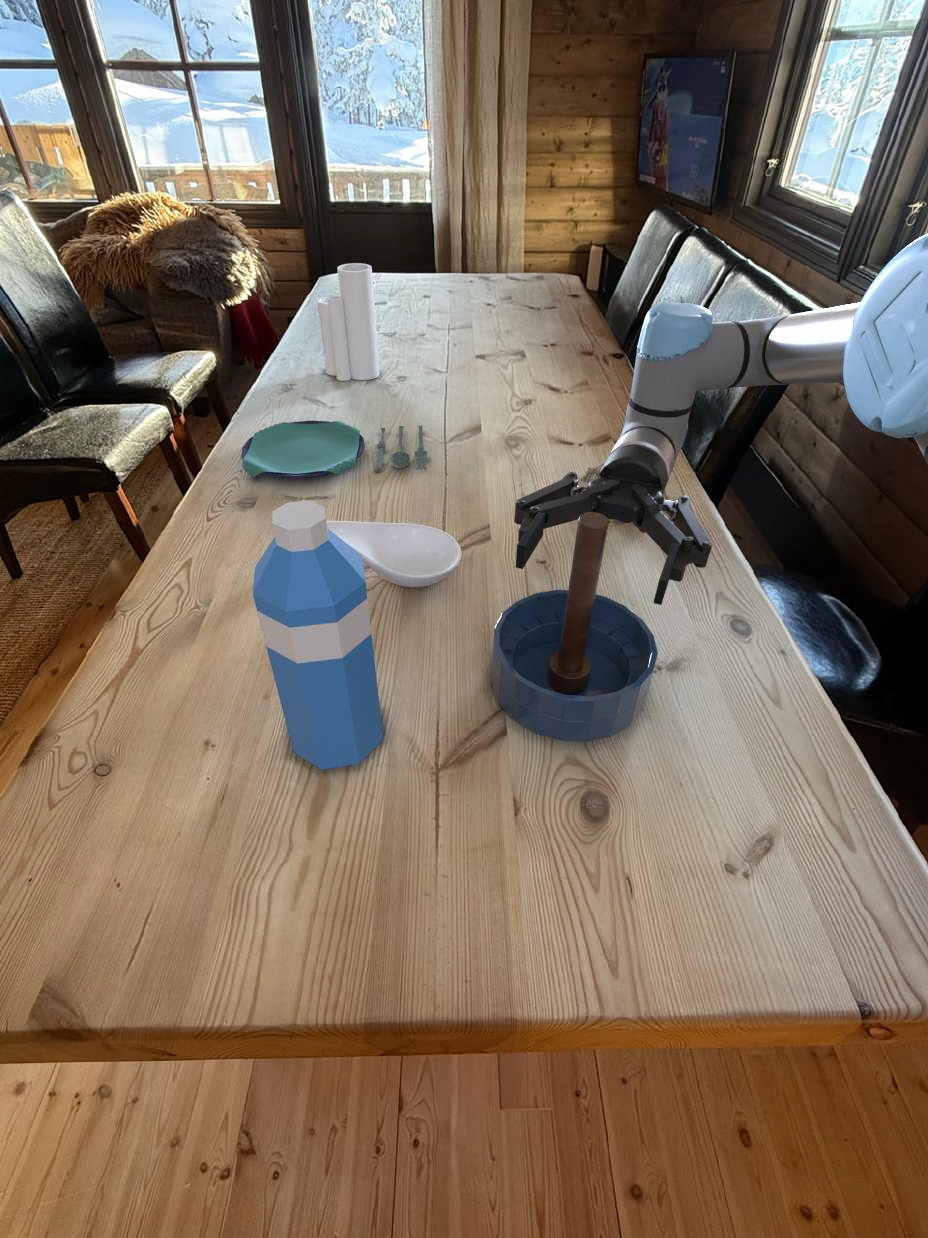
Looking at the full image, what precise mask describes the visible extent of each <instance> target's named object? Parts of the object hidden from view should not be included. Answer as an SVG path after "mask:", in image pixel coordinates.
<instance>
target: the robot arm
mask: <svg viewBox="0 0 928 1238" xmlns="http://www.w3.org/2000/svg"><path fill="white" fill-rule="evenodd" d="M713 320H714V318H713V314H712V312H711V311H710V310H709V309H708V308H706V307H704V306H702V305H699V304H695V303H690V302H677V301H672V302H671V301H670V302H663V303H659V304H656V305H654V306H653V307H652V308H650V309H649V310H648V311H647V312H646V315H645V317H644V320H643V324H642V327H641V331H640V335H639V339H638V342H637V346H636V347H637V348H636V357H635V363H634V368H633V369H634V370H633V377H632V383H631V390H630V394H629V398H628V402H627V407H626V412H625V418H624V423H623V429H622V432H621V434H620V436H619V437H618V440H617V441H616V442H615V445H614V446H613V448H612V450H611V451H610V453H609V455H608V456H607V459H606V460H605V462H604V463H603V464H604V466H603V467H602V469H601V471H600V473H599V475H598V477H597V479H595V480H593V481H591V482H590V483H587V482H583V481H582V480H579V479H578V478H579V474H578V473H577V472H575V471H570V472H567V473H566V474H565V475H564V476H563V477H562V478H561V479H560V480H558V481H556V482H553V483H551V484H549V485H547V486H544V487H542V488H540V489H538V490H535V491H534V492H531V493H528V494H527V495H525V496H523V497H520V498H518V499H516V500H515V502H514V518H513V522H514V524H516V525H519V527H518V534H517V535H518V536H517V542H518V543H517V544H516V555H515V568H516V569H518V570H519V569H520V570H524V568H525V566H526V565H527V564H528V561H529V559H530V558H531V556H532V555H533V553H534V551H535V550H536V548H537V547H538V545H539V543H540V541H541V540H542V538H543V536H544V531H545V530H546V529H549V528H552V527H556V526H561V525H564V524H567V523H571V522H573V521H578V520H579V517H580V515H582V514H584V513H587V512H596V513H600V514H603V515H604V516H606V517H607V518H608V520H615V521H618V522H621V523H623V524H624V523H625V524H628V525H630V524H633V525H634V526H635V527H636V529H638V531H639V532H640V533H641V534H646V535H648V537H649V538H650V539H651V540H652V541H653V542H654V543H655V545H657V546H658V547H659V549H660V550H661V551H662V552H663V553H664V554H665V556H666V558H665V561H664V564H663V567H662V570H661V573H660V576H659V579H658V582H657V587H656V591H655V594H654V598H653V602H652V603H653V604H655V605H660V606H662V604H663V601H664V598H665V595H666V591H667V589H668V585H669V582H670V581H675V582H677V583H680V582H682V581H683V579H684V575H685V572H686V570H687V569H686V568H687V566H688V565H690V564H691V565H694V566H695V567H696V568H698V569H699V568H700V569H704V568H706V566H707V564H708V560H709V557H710V554H711V551H712V548H713V544H712V542H711V540H710V538H709V536H708V535H707V534H706V532H705V530H704V529H703V527H702V525H701V523H700V522H699V520H698V518H697V517H696V515H695V514H694V512H693V510H692V508H691V497H689V496H688V495H679V496H678V499H677V500H671V499H665V497H664V496H663V493H664V494H665V490H666V488H667V484H668V482H669V480H670V477H671V475H672V472H673V469H674V467H675V465H676V461H677V458H678V456H679V454H680V451H681V449H682V448H683V447H684V445H685V442H686V439H687V435H688V431H689V418H690V415H691V411H692V407H693V404H694V400H695V397H696V394H697V392H704V391H715V390H727V389H732V388H745V387H746V388H747V387H760V386H786V385H805V384H806V385H809V384H813V385H814V384H844V388H845V389H844V390H845V395H846V398H847V401H848V404H849V406H850V408H851V410H852V412H853V414H854V415H855V416H856V418H857V419H858V420H859V421H860V422H861V423H862V424H863V425H864V426H865V427H866V428H868V429H870V430H871V431H874V432H878V433H879V432H880V433H883V434H884V435H886V436H889V437H892V438H895V439H902V438H905V439H909V438H913V439H914V440H915V442H916V444H917V446H918V448H919V450H920V452H921V454H922V456H923V458H924V460H925V462H926V464H927V465H928V233H926V234H924V235H922V236H920V237H919V238H916V239H915V240H914V241H913V242H911V243H909V244H908V245H907V246H905V247H904V248H903V249H901V250H900V251H899V252H898V253H897V254H896V255H895V256H893V258H892V259H890V260H889V262H888V263H887V264H885V266H884V267H883V268H882V270H881V271H880V272H879V273H878V274H877V276H876V277H875V279H874V280H873V281H872V283H871V284H870V286H869V287H868V288H867V290H866V292H865V293H864V295H863V297H862V299H861V301H860V302H857V303H856V302H855V303H851V304H845V305H844V304H843V305H839V306H838V305H837V306H833V307H828V308H822V309H816V310H811V311H805V312H797V313H793V314H785V315H779V316H773V317H765V318H755V319H747V320H745V319H744V320H731V321H730V320H729V321H713ZM663 512H664V513H666V515H667V516H668V517H667V516H666V515H665V514H664V513H663Z"/></svg>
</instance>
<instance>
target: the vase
mask: <svg viewBox="0 0 928 1238" xmlns="http://www.w3.org/2000/svg"><path fill="white" fill-rule="evenodd" d="M336 268H337V278H338V289H339V295H334V294H333V295H329V296H327V297H320V298H317V300H316V303H317V304H316V305H317V311H318V319H319V320H318V321H319V327H320V334H321V335H320V336H321V343H322V351H323V359H324V367H325V373H326V374H327V375H329V376H333V377H334V376H335V377H336V380H337V381H340V382H347V381H350V380H351V379H352V380H356V381H369V380H370V381H371V380H375V379H376V378H378V377H379V376H380V361H379V346H378V335H377V334H378V333H377V321H376V305H375V294H374V280H373V267H372V265H370V264H367V263H361V262H359V263H358V262H354V263H353V262H351V263H344V264H341V265H338V266H337V267H336Z"/></svg>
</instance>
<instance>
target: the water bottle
mask: <svg viewBox="0 0 928 1238" xmlns="http://www.w3.org/2000/svg"><path fill="white" fill-rule="evenodd" d="M327 521H328V519H327V514H326V507H325V506H323V505H321V504H319V503H316V502H314V501H312V500H301V501H289V502H286V503H284V504H283V505H281V506H279V507H277V508H276V509H275V510H272V513H271V526H272V530H273V535H274V537H273V539H272V541H271V542H270V543H269V544H268V546H267V547H266V549H265V551H264V553H263V554H262V556H261V557H260V558H259V560H258V561H257V563H256V564H255V566H254V571H253V585H252V597H253V598H252V599H253V602H254V605H255V610H256V613H257V616H258V621H259V625H260V628H261V632H262V635H263V640H264V644H265V648H266V651H267V655H268V659H269V663H270V666H271V671H272V674H273V678H274V679H273V680H274V682H275V685H276V690H277V693H278V698H279V701H280V705H281V709H282V713H283V717H284V721H285V725H286V729H287V733H288V737H289V740H290V743H291V748H292V751H293V753H294V754H295V755H297V756H299V757H300V758H302V759H303V760H305V761H306V762H308V763H310V764H311V765H312V766H314V767H316V768H317V769H319V770H320V771H321V770H328V769H334V768H342V767H349V766H355V765H360V764H362V762H363V761H364V760H365V759H366V758H367V757H368V756H369V755H370V754H371V753H372V752H373V750H375V748H377V747H378V746H379V745H380V744H381V742H382V741H384V733H383V723H382V715H381V704H380V697H379V687H378V680H377V671H376V663H375V653H374V645H373V643H374V642H373V636H372V626H371V618H370V609H369V599H368V592H367V591H368V590H367V582H366V575H365V567H364V562H363V557H362V555H361V554H359V553H358V552H357V551H356V550H354V549H353V548H352V547H351V546H349V545H348V544H347V543H345V542H344V541H343V540H342V539H340V538H339V537H338V536H337V535H335V534H334V533H333V532H332V531H330V530H329V529H328V526H327Z"/></svg>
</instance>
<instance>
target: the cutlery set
mask: <svg viewBox="0 0 928 1238" xmlns="http://www.w3.org/2000/svg"><path fill="white" fill-rule="evenodd" d="M423 427H424V425H418V447H417V450H416V451H414V458H415V466H416V470H419V468H420V470H422V469H423V468H424V470H426V468H427V460H428V450H425V449H424V448H425V447H424V439H423V438H424V437H423V434H424V433H423V429H424V428H423ZM404 428H405V427H404V425H398V451H395V452H394V453H392V454H391V456H390V458H389V461H390V464H391V465H392V466H393V467H394V468H396V469H403V468H405V467H407V466H408V465H409V463H410V462H411V457H410V454H409V453H407V452H406V451H404V450H403V439H404V430H405V429H404ZM380 430H381V436H380V440H379V441H378V444H377V450H378V451H377V454H376V468H377V469H378V470H379V471H382V467H383V456H384V451H386V442H385V432H386V427H380ZM365 448H366V445H365V439H364V436H362V434H361V430H360V429H358V428H357V427H355V426H352V425H350V424H348V423H345V422H343V421H338V420H334V421H327V420H326V421H325V420H300V421H291V422H287V421H284V422H283V421H282V422H279V423H274V424H273V425H269V426H268V427H264V428H263V429H259V430H258V431H255V432H254V433H253V436H251V437H249V438H248V439H247V441H246V442H245V443H244V444H243V445H242V447H241V455H240V457H241V459H242V468H243V470H244V471H245V472H246V473H247V474H248V475H249V476H251V477H253V478H254V479H256V476H257V475H259V474H263V475H267V476H270V477H275V478H286V479H304V478H313V477H320V476H325V475H327V474H331V473H333V474H334V475H336V476H337V475H338V474H341V473H342V472H344V471H347V470H349V469H352V468H353V467H354V466H355V465H356V462H357V460H358V459H359V458H360V457H362V454H363V452H364V450H365Z"/></svg>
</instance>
